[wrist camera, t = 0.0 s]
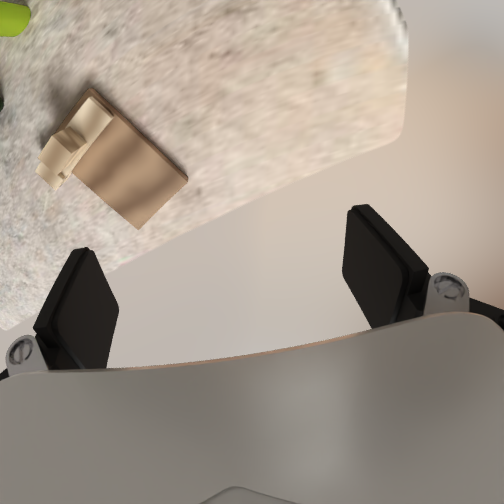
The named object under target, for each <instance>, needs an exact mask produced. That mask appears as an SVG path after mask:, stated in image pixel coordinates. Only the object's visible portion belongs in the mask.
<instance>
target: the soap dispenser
mask: <svg viewBox="0 0 504 504" xmlns="http://www.w3.org/2000/svg"><path fill="white" fill-rule="evenodd" d="M30 16H31V12H30V9H29V8H28V7H27V6H24V5H19V4H14V3H8V2H2V1H0V36H6V37H14V36H17V35H19V34H20V33H21V32H22V31H23V30H24V29H25V28H26V26H27V25H28V23H29V20H30Z"/></svg>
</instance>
